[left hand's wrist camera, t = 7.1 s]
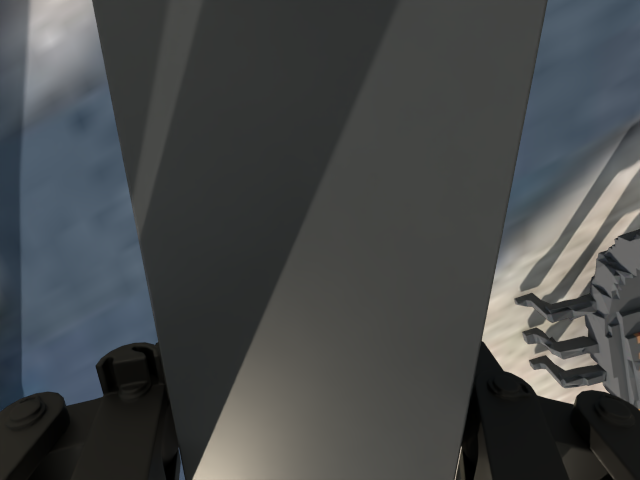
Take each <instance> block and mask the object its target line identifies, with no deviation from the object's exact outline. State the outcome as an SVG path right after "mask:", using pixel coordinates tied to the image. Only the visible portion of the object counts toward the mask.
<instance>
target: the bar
mask: <svg viewBox="0 0 640 480" xmlns="http://www.w3.org/2000/svg"><path fill="white" fill-rule="evenodd" d="M547 1H548V0H92V2H93V7H94V12H95V17H96V22H97V27H98V33H99V38H100V43H101V48H102V53H103V58H104V64H105V69H106V74H107V79H108V84H109V89H110V94H111V100H112V105H113V110H114V115H115V120H116V125H117V130H118V136H119V141H120V146H121V151H122V156H123V161H124V167H125V172H126V177H127V182H128V187H129V192H130V197H131V203H132V208H133V213H134V218H135V223H136V228H137V233H138V239H139V244H140V249H141V254H142V259H143V264H144V270H145V275H146V280H147V285H148V290H149V295H150V300H151V306H152V311H153V316H154V321H155V326H156V331H157V336H158V342H159V347H160V352H161V357H162V362H163V367H164V373H165V378H166V383H167V388H168V393H169V398H170V403H171V409H172V414H173V419H174V424H175V429H176V434H177V439H178V445H179V450H180V455H181V460H182V465H183V470H184V476H185V480H455V475H456V469H457V464H458V459H459V454H460V449H461V444H462V439H463V433H464V428H465V423H466V418H467V413H468V408H469V402H470V397H471V392H472V387H473V382H474V377H475V372H476V366H477V361H478V356H479V351H480V346H481V341H482V336H483V330H484V325H485V320H486V315H487V310H488V305H489V299H490V294H491V289H492V284H493V279H494V274H495V269H496V263H497V258H498V253H499V248H500V243H501V238H502V233H503V227H504V222H505V217H506V212H507V207H508V202H509V196H510V191H511V186H512V181H513V176H514V171H515V166H516V160H517V155H518V150H519V145H520V140H521V135H522V129H523V124H524V119H525V114H526V109H527V104H528V99H529V93H530V88H531V83H532V78H533V73H534V68H535V63H536V57H537V52H538V47H539V42H540V37H541V32H542V26H543V21H544V16H545V11H546V6H547Z"/></svg>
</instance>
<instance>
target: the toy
mask: <svg viewBox="0 0 640 480" xmlns="http://www.w3.org/2000/svg"><path fill="white" fill-rule="evenodd" d="M515 304H516V305H521V306H527V307H533V308H534V309H536V310H537V311H538V312H539V313H540V314H541V315H542V316H544V317H545V318H546V319H547V320H548V321H550V322H552V323H554V322H557V321H560V320H563V319H567V318H569V319H570V320H573V319H575V318H578V317H581V316H584V315H585V323H586V327H587V328H588V337H585V336H582V337H578V338H574V339H570V340H565V341H560V342H556V341H555V340H554V339H553V337H551V338H550V339H549V338H548V337H547V336H546V334H545V333H544V332H543V331H541V330H540V329H538V328H533V329H530V330H527V331H524V332H522V333H523V337H524V340H525V341H526V343H527V344H535V343H541V344H543V345H545V346H547V348H548V349H549V350H550V351H551V353H552V354H554V355H556V356H558V357H560V358H562V359H567V358H571V357H575V356H578V355H582V354H586V353H590V354H591V358H592V359H593V360H595V361H596V362H597V363H598V364H597V365H594V366H586V367H580V368H575V369H571V370H567V371H565V370H563V369H562V368H560V367H558V366H557V365H555V364H554V363H553V362H552V361H551V360H550V359H549V358H548V357H547V356H546V355H545V356H542V357H538V358H535V359H532V360H529V362H530V366H531V367H532V368H533V369H534V370H536V369H546V370H547V371H548V372H549V373H550V374H551V375H552V376H553V377H554V378H555V379H556V380H557V382H558V383H559V384H560V385H561V386H562V387H564V388H572V387H579V386H584V385H588V386H589V385H593V384H597V383H600V382H603V385H604V387H605V389H606V390H607V391H608V392H609V393H610V394H612V395H615V396H617V397H620V398H621V399H623V400H625V401H627V402H629V403H631V404H633V405H634V406H635V407H636V408H638V409H639V410H640V229H639V230H636V231H633V232H630V233H627V234H624V235H621V236H618V238H616V239H615V244H614V245H612V247H609V249H608V250H607V251H604V252H601V253H599V254H598V258H597V260H596V271H595V276H594V277H592V279H591V288H590V294H588V295H585V296H582V297H580V298H577V299H572V300H566V301H562V302H559V303H555V304H549V303H547V302H544V301H542V300H540V299H539V298H538V297H537V296H535V295H534V294H533V293H530V294H527V295H524V296H521V297H518V298H515Z"/></svg>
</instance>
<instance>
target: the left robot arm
mask: <svg viewBox="0 0 640 480" xmlns="http://www.w3.org/2000/svg"><path fill="white" fill-rule="evenodd" d="M96 369H97V373H98V377H99V380H100V384H101V387H102V391H103V397H101V398H98V399H94V400H90V401H86V402H82V403H77V404H73V405H69V406H66V404H65V401H64V398H63V397H62V396H61V395H60V394H59V393H54V392H43V393H36V394H33V395H30V396H27V397H25V398H22V399H20V400H18V401H16V402H14V403H12V404H11V405H9V406H7V407H6V408H5V409H3V410H2V411H1V412H0V480H179V474H180V464H181V461H180V454H179V449H178V448H179V445H178V439H177V434H176V429H175V424H174V419H173V414H172V409H171V403H170V398H169V393H168V388H167V383H166V378H165V373H164V367H163V362H162V357H161V352H160V347H159V342H158V343H156V345H154V344H150V343H145V342H144V343H132V344H128V345H124V346H121V347H119V348H117V349H115V350H113V351H111V352H109V353H108V354H106V355H105V356H104V357H102V358H101V359H100V361H99V362H98V363H97V365H96ZM461 446H462V449H461V454H460V459H459V464H458V469H457V475H456V480H640V410H639V409H638V408H636V407H635V406H634V405H633V404H631V403H629V402H627V401H625V400H623V399H621V398H620V397H617V396H615V395H612V394H609V393H606V392H601V391H594V390H589V391H582V392H581V393H580V394H579V395H577V397H576V400H575V403H574V405H573V404H569V403H565V402H560V401H556V400H552V399H547V398H544V397H541V396H537V395H536V393H535V392H534V390H533V389H532V387H531V386H530V385H529V384H528V383H526V382H525V381H524V380H523V379H521V378H519V377H518V376H516V375H514V374H512V373H509V372H505V371H503V369H502V368H501V366H500V365H499V363H498V362H497V361H496V359H495V358H494V356H493V355H492V353H491V352H490V351H489V349H488V348H487V346H486V345H485V343H484V342H482V341H481V346H480V351H479V356H478V361H477V366H476V372H475V377H474V382H473V387H472V392H471V397H470V402H469V408H468V413H467V418H466V423H465V428H464V433H463V439H462V444H461Z"/></svg>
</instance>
